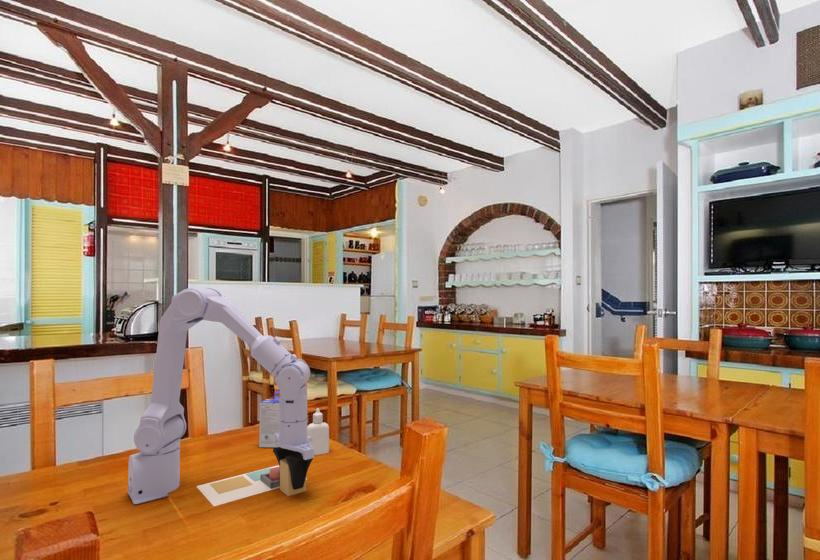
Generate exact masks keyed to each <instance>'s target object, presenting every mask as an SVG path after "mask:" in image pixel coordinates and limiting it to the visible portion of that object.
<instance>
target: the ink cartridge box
mask: <svg viewBox="0 0 820 560" xmlns="http://www.w3.org/2000/svg"><path fill="white" fill-rule="evenodd" d="M279 398H280V390H275V391H274V395H273V398H266V399H264V400H262V401H261V402H259V429H258V431H259V433H258V434H259V435H258V436H259V437H258V439H259V442H258V447H259V448H277V447H279V446H278V443H276V442H274V439H275V433H277V432H279Z"/></svg>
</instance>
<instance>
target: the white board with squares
mask: <svg viewBox="0 0 820 560" xmlns="http://www.w3.org/2000/svg"><path fill="white" fill-rule="evenodd" d="M275 467H280V466H279V464H278V465H275V466H269V467H266V468H263V469H262V468H261V469H259V470H254V471H251V472H247V473H242V474H238V475H234V476H231V477H227V478H224V479H219V480H216V481H211V482H207V483H204V484H200V485H196V488H197V489H198V491H200V493H202V495H203V496H204V497H205V498H206V500H207V501H208V502H210V504H211V505H212V506H213V507H217V506H221V505H224V504H228V503H230V502H231V503H232V502H235V501H238V500H242V499H245V498H248V497H252V496H255V495H259V494H262V493H263V494H264V493H265V492H269V491H273V490H277V489H280V480H276V481H271V480H270V479H269V471H270V469H272V468H275ZM307 480H308V478H307V477H306V481H307Z"/></svg>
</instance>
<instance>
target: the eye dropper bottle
mask: <svg viewBox="0 0 820 560" xmlns="http://www.w3.org/2000/svg"><path fill="white" fill-rule="evenodd" d="M323 415H324V414H323V413H322V412H321V411H320V408H319V407H317V408H316V409H315V412H314V413H313V414H312V423H309V424H307V436H311V437H312V441H309V442H310V444H311V446H312V447H313V448H314V456H318V455H325V454H328V453H330V427H329V424H328V423H327V422H323Z"/></svg>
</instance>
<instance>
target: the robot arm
mask: <svg viewBox="0 0 820 560" xmlns="http://www.w3.org/2000/svg"><path fill="white" fill-rule="evenodd" d="M201 321H208V322H216V323H221V324H223V326H225V327H226V328H228V329H229V331H231V332H232V333H233V334H235V335H236V336H237V337H238V338H239V339H241V340H242V341H243V342H244V343H245V344H247V346H249V347H250V356H251V357H252V358H253V359H254V360H255V361H256V362H257V363H259V364H260V366H262V367H263V368H264V369H265V371H267V372H268V373H269V374H270V375H271V377H272V376H273V377H275V378H274V383H275V384H276V387H277V388H278V389H279V391H280V393H279V396H280V398H279V432H277V433H275V439H274V442H276V443H278V446H279V447H273V449H272V453H273V454H274V455H275V458H276V461H277V463H278V465H279V466H280V460H281V459H286V461H287V463H288V465H289V469H290V474H291V483H292V487H293V489H294V490H296V489H300V488H303V486H304V482H305V478H307V473H308V470H309V468H310V465H311V463H312V462H313V460H314V458H315V455H314V448H313V447H312V446H311V444H310V442H309V441H312V437H311V436H307V426H308V384H307V383H308V381H309V379H310V378H311V369H310V367H309V365H308V363H307V362H306V361H305V360H304V359H302V358H298V357H297V355H296V354H295V353H293V354H292V353H291V352H290V351H289V350H288V349H286V348H285V347H284V346H283V345H282V344H281V341H282V340H281V338H279V337H277V336H275V337H274V336H272V335H262V333H261V332H260V331H259V330H258V329H257V328H256V327H255V326H254V325H253V324H252V323H251V322H250V321H249V320H248V319H247V318H246V317H245V316H244V315H243V314H242V313H241V312H240V311H239V309H237V308H236V307H235V306H234V304H233V303H232V302H231V301H230V299H229V298H227V297H225V296H223V295H222V293H221V292H220V291H219V290H217V289H215V288H211V287H210V288H193V287H192V288H190V287H188V288H185V289H183V290H181V291H180V292H178V293H176V294H174V295H173V296H171V303H170V304H169V306H168V308H166V310H165V312H164V313H163V314H162V316H161V318H160V320H159V327H158V335H157V345H156V354H155V361H154V369H153V371H154V372H153V378H152V379H153V380H152V388H151V396H150V403H149V405H148V407H146V410H144V412H143V413H142V414H141V416H140V422H139V425H138V427H137V428H136V429H135V432H134V436H133V443H134V445H135V448H136V449H137V450H138V451H139V452H138V453H137V452H136V453H134V454H131V455H129V458H128V467H127V468H128V470H127V472H128V475H127V478H128V479H127V484H128V485H127V494H128V496H129V497H130V499H131V501H132V503H133V505H138V504H139V505H140V504H143V503H146V502H151V501H154V500H155V501H156V500H158V499H162V498H167V497H169V496H170V495H169V494H168V493H171V492H173V491H175V490H177V489H178V488H179V487H180V484H181V483H180V478H181V477H180V476H181V474H180V472H181V468H180V467H181V459H180V458H181V447H180V446H181V438H182V437H184V435H185V434H186V430H187V422H186V419H185V416H184V414H185V408H184V406H183V405H182V404H181V402H180V399H181V398H180V397H181V390H182V381H183V372H184V362H185V354H186V348H187V347H186V345H187V335H188V331H189V330H190V329H191V328H193V327H194V326H195V325H197V324H198V323H200V322H201Z"/></svg>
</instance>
